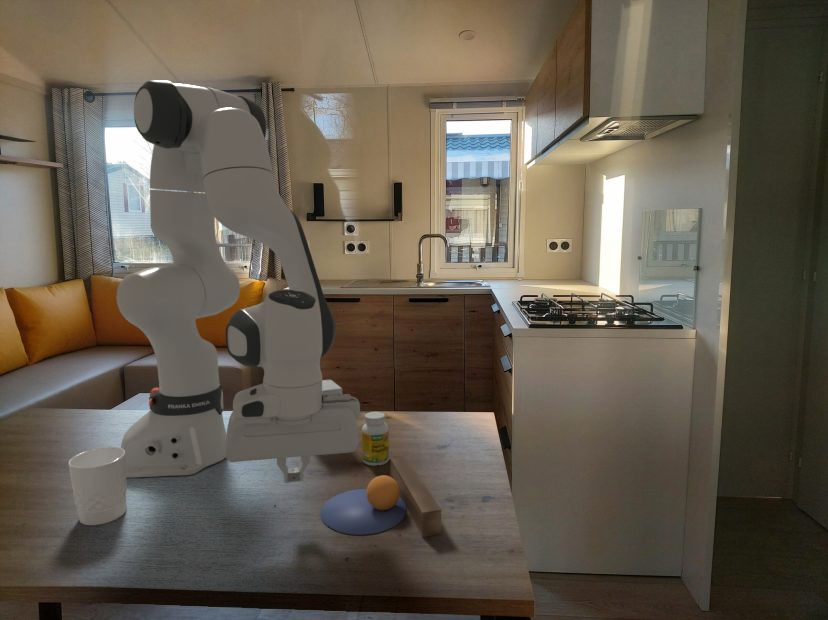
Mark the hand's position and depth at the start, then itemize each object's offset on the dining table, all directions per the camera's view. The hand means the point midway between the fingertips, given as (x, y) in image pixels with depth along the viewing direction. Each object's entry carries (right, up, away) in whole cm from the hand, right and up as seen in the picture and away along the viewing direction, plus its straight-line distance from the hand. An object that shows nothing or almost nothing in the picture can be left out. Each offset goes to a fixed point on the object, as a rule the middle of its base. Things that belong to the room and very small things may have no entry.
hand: (293, 480), depth 85 cm
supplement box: (-1, -2, +32) cm, 32 cm away
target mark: (+11, -6, +4) cm, 13 cm away
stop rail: (+19, -6, +6) cm, 21 cm away
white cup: (-32, -7, +3) cm, 32 cm away
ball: (+14, -3, +4) cm, 15 cm away
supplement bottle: (+11, -3, +23) cm, 25 cm away
